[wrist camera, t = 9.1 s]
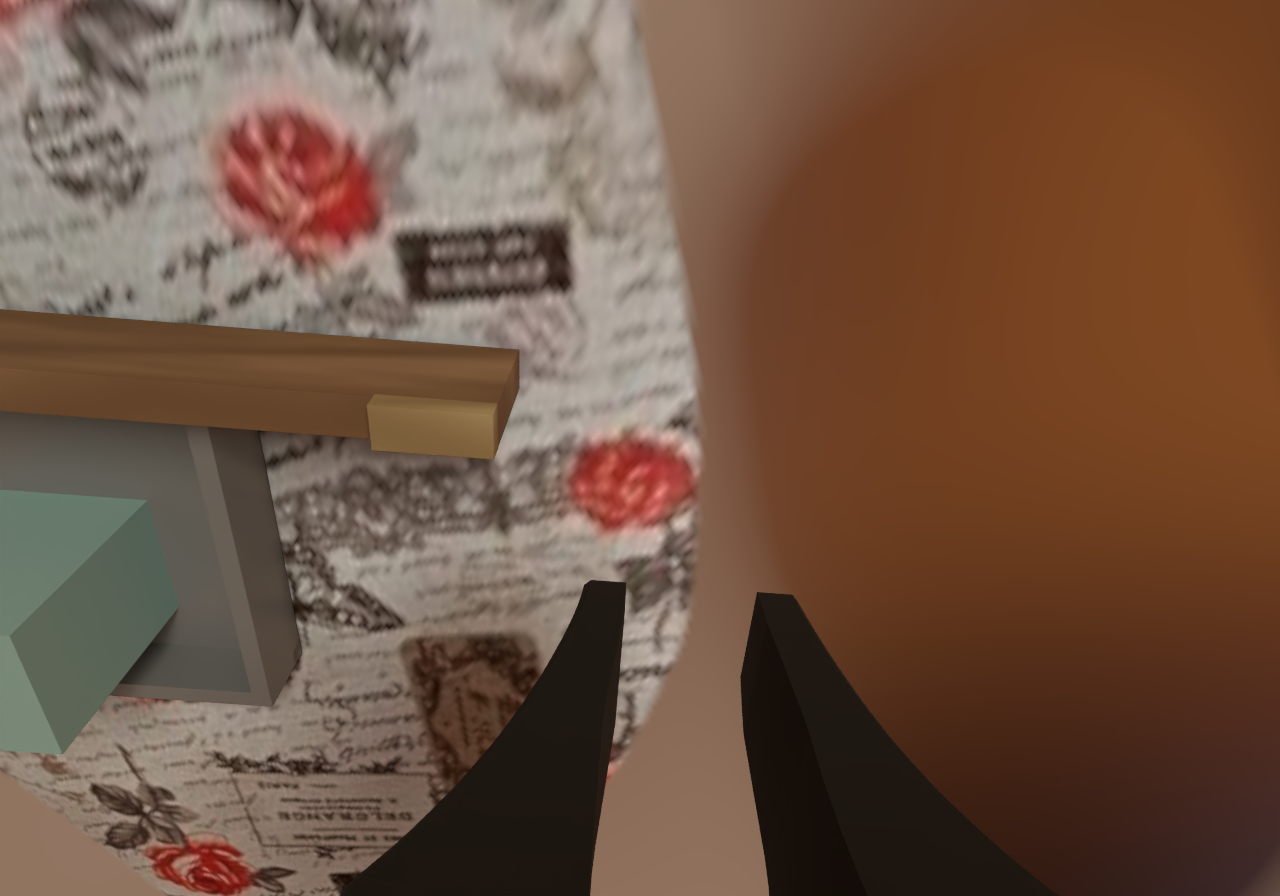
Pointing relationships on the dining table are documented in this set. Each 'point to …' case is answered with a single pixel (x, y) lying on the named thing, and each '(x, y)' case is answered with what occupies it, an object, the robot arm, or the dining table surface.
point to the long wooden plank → (260, 381)
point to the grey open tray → (181, 543)
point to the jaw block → (72, 609)
